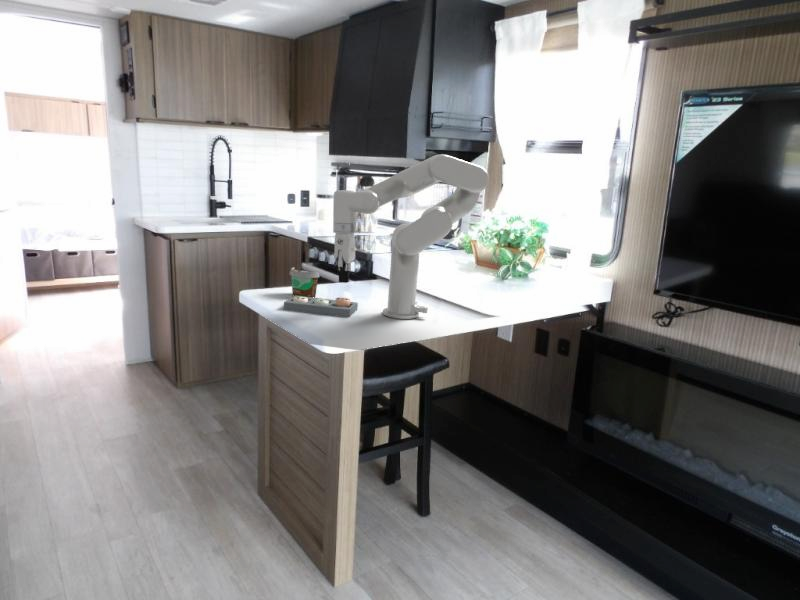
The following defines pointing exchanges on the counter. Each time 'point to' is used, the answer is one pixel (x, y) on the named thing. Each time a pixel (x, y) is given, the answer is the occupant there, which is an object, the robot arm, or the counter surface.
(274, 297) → the counter surface
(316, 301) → the button one dot
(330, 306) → the gray rectangular tray
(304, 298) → the button two dot
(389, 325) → the counter surface
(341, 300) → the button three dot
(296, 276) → the food container
